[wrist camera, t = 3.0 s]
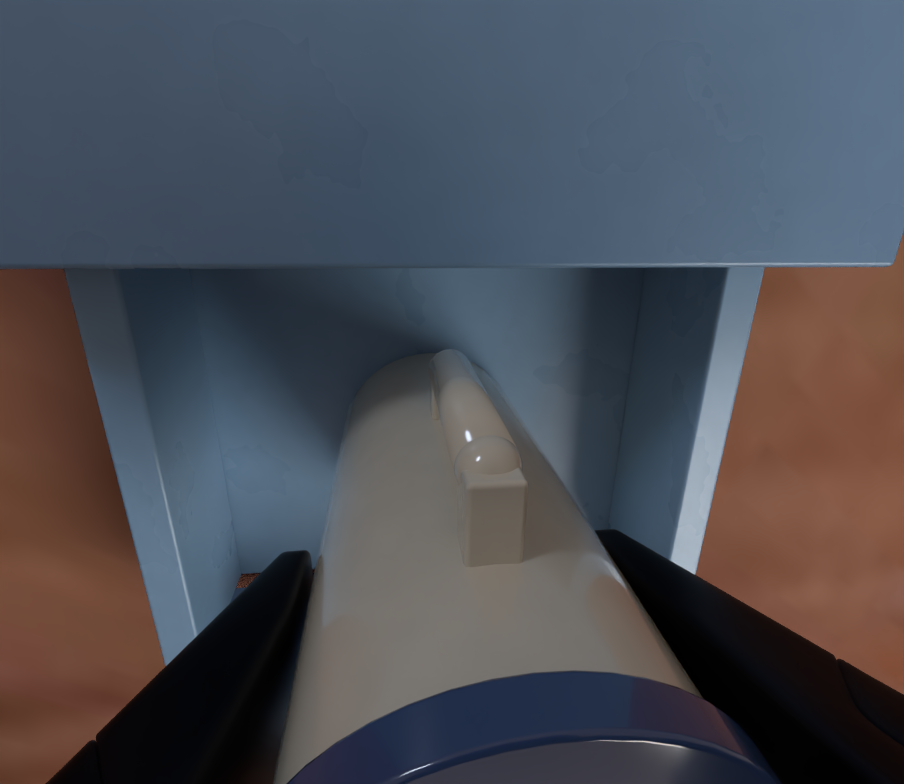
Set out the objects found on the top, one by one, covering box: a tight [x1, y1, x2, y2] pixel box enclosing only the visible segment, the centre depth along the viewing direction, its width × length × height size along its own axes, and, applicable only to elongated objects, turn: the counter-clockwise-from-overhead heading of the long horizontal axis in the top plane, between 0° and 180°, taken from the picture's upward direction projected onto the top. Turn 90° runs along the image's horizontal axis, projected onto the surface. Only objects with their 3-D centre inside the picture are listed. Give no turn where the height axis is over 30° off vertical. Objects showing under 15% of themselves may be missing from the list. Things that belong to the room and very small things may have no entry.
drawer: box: [64, 267, 765, 667], centre depth 12 cm, size 20×14×4 cm
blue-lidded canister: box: [272, 349, 782, 784], centre depth 8 cm, size 6×5×10 cm
